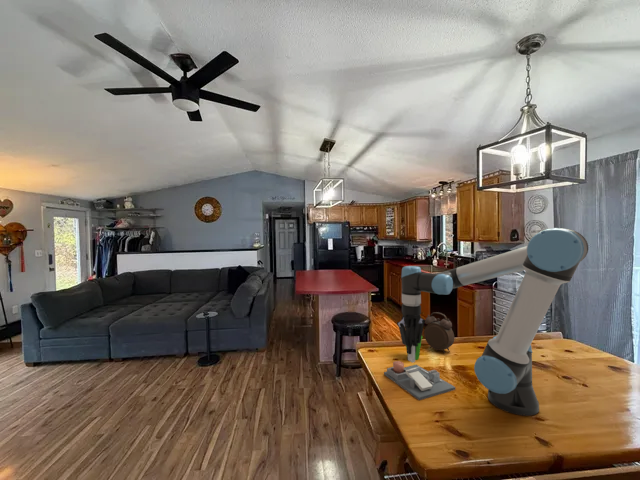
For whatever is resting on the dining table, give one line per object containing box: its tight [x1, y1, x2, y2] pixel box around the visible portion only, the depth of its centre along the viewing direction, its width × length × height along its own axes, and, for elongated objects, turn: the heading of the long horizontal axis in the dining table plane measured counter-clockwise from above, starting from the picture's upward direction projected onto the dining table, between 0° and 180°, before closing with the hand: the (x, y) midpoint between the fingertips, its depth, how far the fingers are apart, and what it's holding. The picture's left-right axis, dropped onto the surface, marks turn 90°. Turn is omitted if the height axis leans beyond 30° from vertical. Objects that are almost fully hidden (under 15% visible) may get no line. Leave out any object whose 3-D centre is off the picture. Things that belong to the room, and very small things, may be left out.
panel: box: [383, 364, 456, 401], centre depth 118 cm, size 22×18×4 cm
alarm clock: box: [423, 311, 455, 354], centre depth 150 cm, size 14×7×20 cm, turn 36°
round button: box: [392, 360, 405, 374], centre depth 122 cm, size 4×4×3 cm
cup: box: [405, 336, 423, 361], centre depth 141 cm, size 9×9×11 cm
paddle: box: [405, 368, 433, 391], centre depth 114 cm, size 10×5×1 cm, turn 22°
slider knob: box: [427, 369, 440, 383], centre depth 117 cm, size 3×3×4 cm
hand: (411, 361), depth 117 cm, fingers closed
